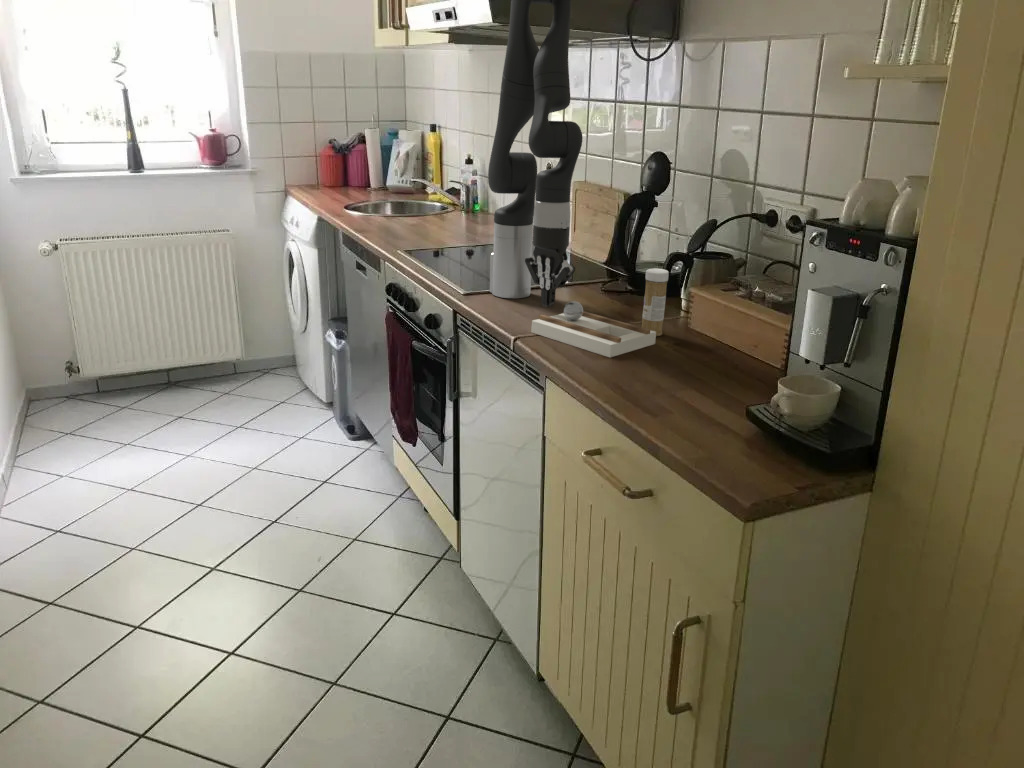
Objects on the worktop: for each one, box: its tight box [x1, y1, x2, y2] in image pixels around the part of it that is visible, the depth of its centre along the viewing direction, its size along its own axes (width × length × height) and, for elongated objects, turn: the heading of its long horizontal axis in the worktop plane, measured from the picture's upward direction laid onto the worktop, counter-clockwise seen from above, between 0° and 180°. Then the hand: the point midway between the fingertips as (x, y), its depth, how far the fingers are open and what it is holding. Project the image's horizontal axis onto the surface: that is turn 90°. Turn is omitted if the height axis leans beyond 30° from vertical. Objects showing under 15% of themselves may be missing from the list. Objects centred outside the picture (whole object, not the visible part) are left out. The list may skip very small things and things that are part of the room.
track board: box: [530, 310, 657, 358], centre depth 164 cm, size 21×14×3 cm, turn 44°
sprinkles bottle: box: [641, 267, 670, 337], centre depth 166 cm, size 5×5×13 cm
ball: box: [563, 300, 584, 321], centre depth 166 cm, size 4×4×4 cm
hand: (547, 305), depth 171 cm, fingers closed
